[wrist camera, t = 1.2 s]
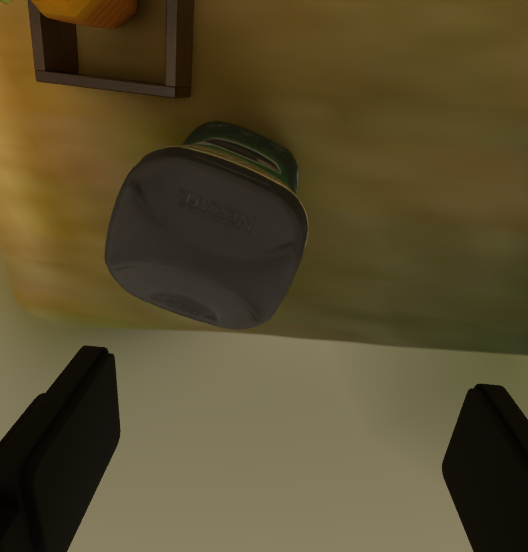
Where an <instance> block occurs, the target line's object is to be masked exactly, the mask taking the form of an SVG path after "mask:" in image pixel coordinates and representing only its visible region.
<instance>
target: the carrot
mask: <svg viewBox="0 0 528 552" xmlns="http://www.w3.org/2000/svg"><path fill="white" fill-rule="evenodd" d="M0 1H1V2H3V3H4V4H7V3H9V2H10V1H11V0H0ZM31 1H32V2H33V3H34V5H35V6H36V7H37V8H38V9H39V10H40V12H41V13H42V14H43V15H44V16H46V17H47V18H51V19H55V20H59V21H63V22H67V23H73V24H79V25H86V26H93V27H101V28H109V29H111V28H117V27H120V26H123V25H124V24H125V23H126V22H127V21H128V20H129V19H130V18H131V17H132V16H133V15H134V14H135V13H136V12H137V11H138V0H31Z"/></svg>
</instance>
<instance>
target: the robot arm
mask: <svg viewBox="0 0 528 552" xmlns="http://www.w3.org/2000/svg"><path fill="white" fill-rule="evenodd" d="M119 438H120V419H119V406H118V393H117V381H116V368H115V358H114V355H113V354H110V353H108V350H107V348H104V347H95V346H83V347H82V348H81V349H80V350H79V351H78V353H77V354H76V355H75V356H74V358H73V359H72V360H71V361H70V363H69V364H68V365H67V367H66V368H65V369H64V370H63V372H62V373H61V374H60V375H59V376H58V378H57V379H56V380H55V382H54V383H53V384H52V385H51V387H50V388H49V389H48V390H47V392H46V393H42V394H40V395H38V396H37V397H36V399H34V400H33V402H32V403H31V404H30V405H29V407H28V408H27V409H26V410H25V412H24V413H23V414H22V415H21V417H20V418H19V419H18V420H17V421H16V423H15V424H14V425H13V426H12V428H11V429H10V430H9V431H8V433H7V434H6V435H5V436H4V438H3V439H2V440H1V441H0V552H67V550H68V548H69V546H70V544H71V542H72V540H73V538H74V536H75V533H76V531H77V529H78V527H79V525H80V523H81V521H82V518H83V517H84V515H85V512H86V510H87V508H88V506H89V504H90V502H91V500H92V498H93V495H94V493H95V491H96V489H97V487H98V485H99V483H100V481H101V479H102V477H103V474H104V472H105V470H106V468H107V466H108V464H109V462H110V460H111V458H112V455H113V453H114V451H115V449H116V447H117V445H118V442H119ZM442 472H443V477H444V480H445V482H446V485H447V487H448V490H449V492H450V494H451V497H452V500H453V502H454V505H455V507H456V510H457V512H458V514H459V517H460V519H461V522H462V524H463V527H464V529H465V532H466V534H467V537H468V539H469V542H470V544H471V546H472V549H473V551H474V552H528V419H527V418H526V417H525V415H524V414H523V412H522V411H521V410H520V409H519V407H518V406H517V404H516V403H515V401H514V400H513V399H512V397H511V396H510V395H509V393H508V392H507V391H506V389H505V388H503V386H500V385H489V384H477V385H476V386H475V387H474V389H469V390H468V392H467V394H466V397H465V400H464V403H463V406H462V409H461V411H460V415H459V417H458V420H457V423H456V426H455V428H454V431H453V434H452V437H451V440H450V443H449V446H448V448H447V451H446V454H445V457H444V460H443V463H442Z"/></svg>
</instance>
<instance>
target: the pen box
mask: <svg viewBox="0 0 528 552" xmlns="http://www.w3.org/2000/svg"><path fill="white" fill-rule="evenodd" d="M28 7H29V17H30V27H31V37H32V47H33V57H34V66H35V74H36V81H37V82H45V83H53V84H62V85H70V86H78V87H86V88H94V89H103V90H111V91H119V92H127V93H135V94H144V95H152V96H160V97H168V98H184V97H190V94H191V88H190V87H191V68H192V40H193V13H194V0H166V63H165V84H158V83H150V82H142V81H134V80H126V79H117V78H109V77H101V76H93V75H85V74H78V73H79V71H78V55H77V39H76V24H73V23H67V22H63V21H59V20H55V19H51V18H47V17H46V16H44V15H43V14H42V13H41V12H40V10H39V9H38V8H37V7H36V6H35V5H34V3H33V2H32V1H31V0H28Z"/></svg>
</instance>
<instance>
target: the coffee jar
mask: <svg viewBox="0 0 528 552" xmlns="http://www.w3.org/2000/svg"><path fill="white" fill-rule="evenodd" d="M298 181H299V173H298V166H297V163H296V161H295V159H294V157H293V156H292V155H291V153H290V152H289V151H288V150H286V149H285V148H284V147H282V146H280V145H279V144H277V143H275V142H273V141H271V140H270V139H267V138H266V137H263V136H261V135H259V134H257V133H254V132H252V131H250V130H247V129H244V128H241V127H238V126H235V125H231V124H227V123H223V122H209V123H206V124H203V125H201V126H199V127H198V128H196V129H195V130H194V131H193V132H192V133H191V134H190V135H189V136H188V137H187V139H186V140H185V142H184V143H183V145H173V146H167V147H162V148H159V149H156V150H154V151H152V152H150V153H148V154H147V155H146V156H144V157H143V158H142V159H141V160H140V161H139V162H138V163H137V165H136V166H135V167H134V168H133V169H132V170H131V171H130V172H129V174H128V175H127V177H126V179H125V181H124V183H123V185H122V187H121V189H120V192H119V194H118V196H117V199H116V202H115V205H114V208H113V211H112V215H111V219H110V223H109V227H108V232H107V238H106V245H105V262H106V264H107V267H108V269H109V272H110V273H111V275H112V276H113V278H114V279H115V280H116V281H117V282H118V283H119V285H120V286H121V287H122V288H124V289H125V290H126V291H127V292H129V293H130V294H132V295H133V296H135V297H137V298H139V299H141V300H143V301H145V302H148V303H151V304H153V305H156V306H158V307H161V308H163V309H165V310H168V311H171V312H173V313H176V314H179V315H182V316H185V317H188V318H191V319H194V320H197V321H201V322H204V323H208V324H211V325H214V326H218V327H222V328H226V329H248V328H252V327H256V326H259V325H261V324H263V323H264V322H266V321H268V320H269V319H270V318H271V317H272V316H273V314H274V313H275V312H276V310H277V309H278V307H279V305H280V304H281V302H282V300H283V299H284V297H285V295H286V293H287V291H288V289H289V287H290V285H291V283H292V281H293V278H294V276H295V274H296V271H297V269H298V266H299V264H300V261H301V258H302V256H303V252H304V250H305V246H306V243H307V238H308V231H309V224H308V217H307V214H306V210H305V208H304V206H303V204H302V203H301V201H300V199H299V198H298V196H297V195H296V193H297V188H298Z"/></svg>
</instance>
